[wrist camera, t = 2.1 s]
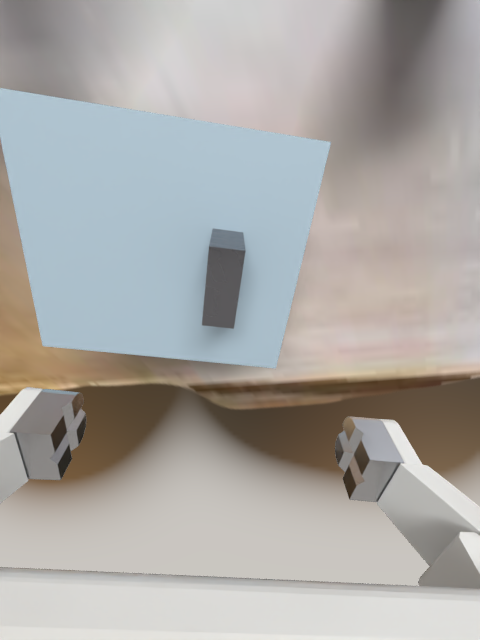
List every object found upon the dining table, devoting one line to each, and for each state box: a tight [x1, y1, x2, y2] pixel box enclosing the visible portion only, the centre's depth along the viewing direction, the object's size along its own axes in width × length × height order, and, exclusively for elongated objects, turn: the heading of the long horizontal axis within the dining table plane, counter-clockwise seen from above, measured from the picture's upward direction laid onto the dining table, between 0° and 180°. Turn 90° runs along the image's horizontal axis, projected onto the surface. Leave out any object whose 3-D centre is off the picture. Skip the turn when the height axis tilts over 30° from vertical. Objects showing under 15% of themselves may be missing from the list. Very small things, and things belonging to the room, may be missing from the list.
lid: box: [0, 88, 331, 368], centre depth 20 cm, size 19×17×5 cm
